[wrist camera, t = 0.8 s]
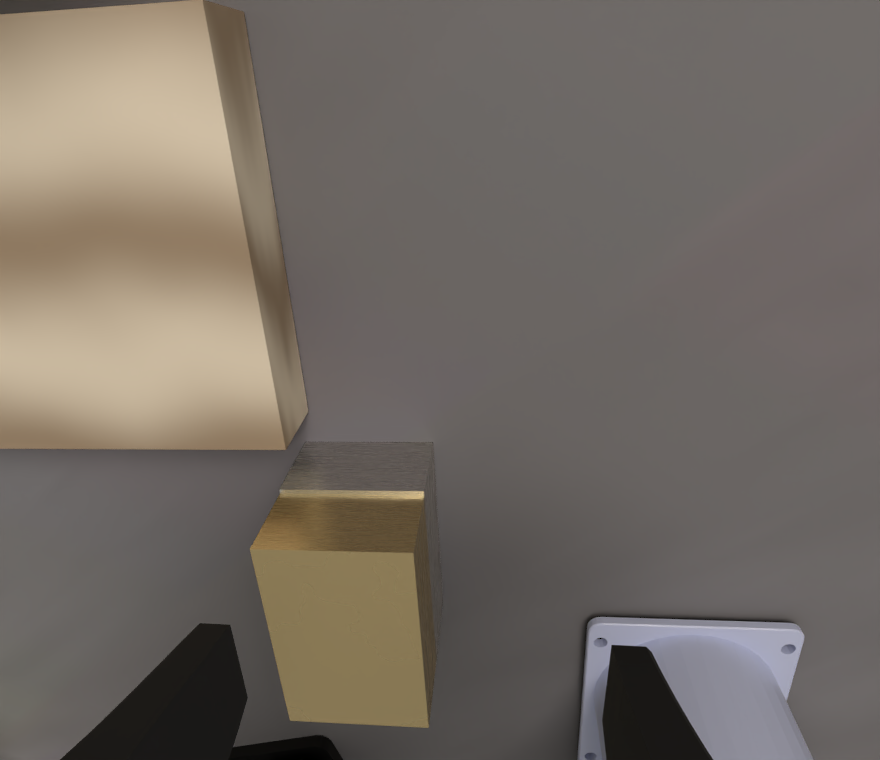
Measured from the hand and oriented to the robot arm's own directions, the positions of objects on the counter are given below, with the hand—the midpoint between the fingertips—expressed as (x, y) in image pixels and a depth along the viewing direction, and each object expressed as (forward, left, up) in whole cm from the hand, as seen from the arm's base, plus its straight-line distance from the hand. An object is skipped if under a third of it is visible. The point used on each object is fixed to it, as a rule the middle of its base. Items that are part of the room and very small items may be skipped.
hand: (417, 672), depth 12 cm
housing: (-5, +3, -10) cm, 12 cm away
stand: (+6, +11, -10) cm, 16 cm away
